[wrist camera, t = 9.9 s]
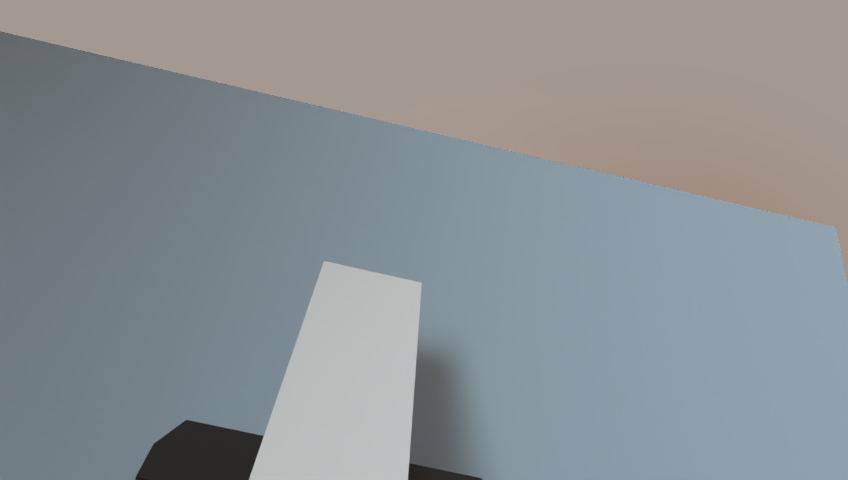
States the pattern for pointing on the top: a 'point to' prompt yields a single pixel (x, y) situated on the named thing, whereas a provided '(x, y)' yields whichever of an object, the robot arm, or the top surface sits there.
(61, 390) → the lid
